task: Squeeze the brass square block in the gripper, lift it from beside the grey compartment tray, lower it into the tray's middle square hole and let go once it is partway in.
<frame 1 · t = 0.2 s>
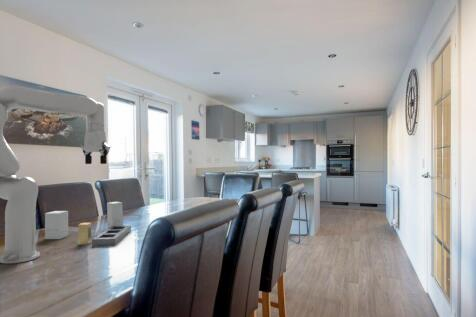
hand: (95, 163, 144), 36 cm above the table, tool pointing down, fingers open, 9 cm apart
skincare box: (115, 229, 166), on the table
supplement box: (56, 237, 148), on the table
grey compartment tray: (113, 237, 146), on the table
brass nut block: (84, 243, 137), on the table
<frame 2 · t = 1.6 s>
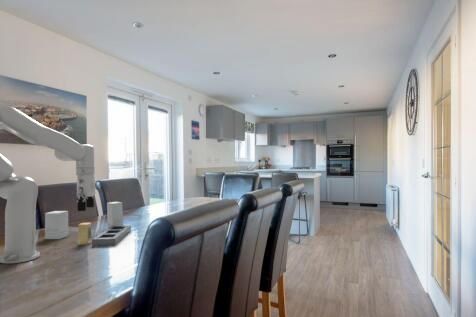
hand: (86, 208, 137), 16 cm above the table, tool pointing down, fingers open, 9 cm apart
nothing on the table moved.
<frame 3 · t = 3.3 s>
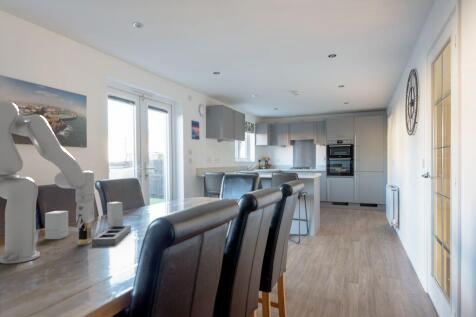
hand: (84, 237, 137), 3 cm above the table, tool pointing down, fingers closed on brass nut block, 4 cm apart
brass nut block: (84, 243, 137), on the table, touching gripper
everything else where it was.
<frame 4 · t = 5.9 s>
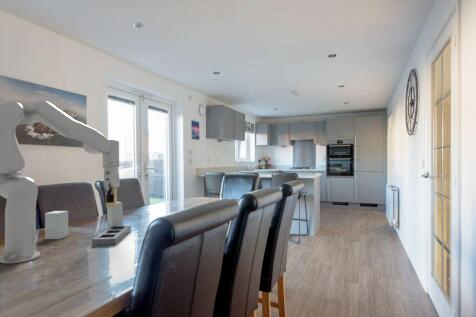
hand: (111, 201, 146), 18 cm above the table, tool pointing down, fingers closed on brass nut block, 4 cm apart
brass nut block: (111, 206, 146), point 15 cm above the table, touching gripper
everything else where it was.
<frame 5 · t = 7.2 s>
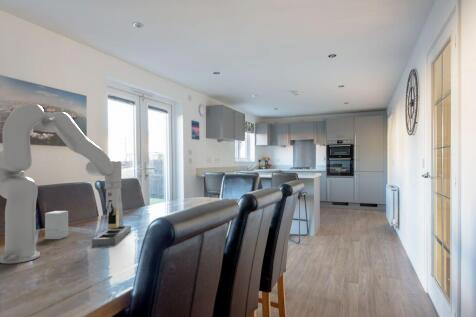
hand: (113, 222, 146), 8 cm above the table, tool pointing down, fingers closed on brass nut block, 4 cm apart
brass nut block: (113, 227, 146), point 5 cm above the table, touching gripper
everything else where it was.
when the fingers open (4 cm above the table, at t = 8.3 s): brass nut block drops 1 cm, resting in grey compartment tray.
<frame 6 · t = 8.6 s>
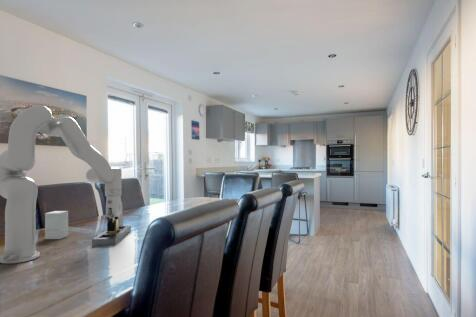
hand: (113, 229, 146), 4 cm above the table, tool pointing down, fingers open, 6 cm apart
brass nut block: (113, 238, 146), resting in grey compartment tray
everything else where it was.
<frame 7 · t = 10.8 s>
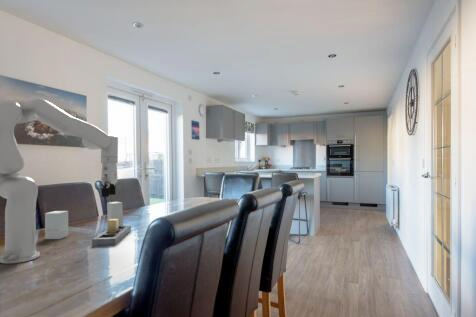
hand: (108, 195, 146), 21 cm above the table, tool pointing down, fingers open, 9 cm apart
nothing on the table moved.
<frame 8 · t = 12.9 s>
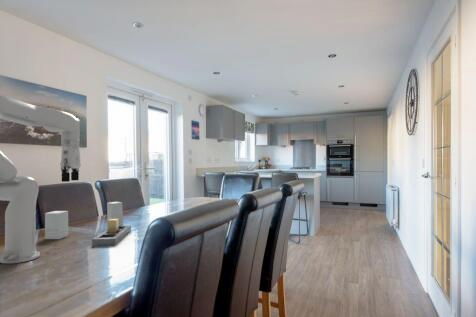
hand: (70, 180, 140), 28 cm above the table, tool pointing down, fingers open, 9 cm apart
nothing on the table moved.
at the end: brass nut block 0.1 cm off-centre on the grey compartment tray, point 0.0 cm above the grey compartment tray's base; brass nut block tilted 0°; the gripper is holding nothing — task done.
